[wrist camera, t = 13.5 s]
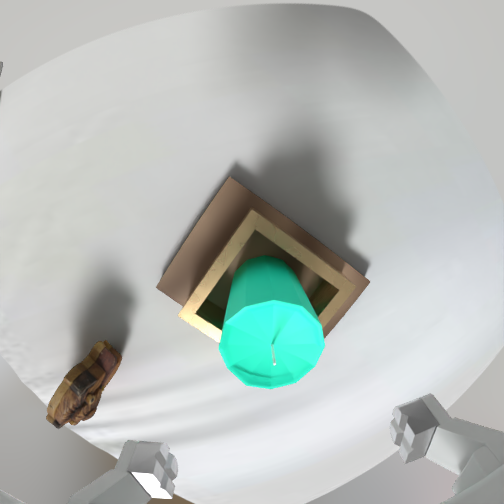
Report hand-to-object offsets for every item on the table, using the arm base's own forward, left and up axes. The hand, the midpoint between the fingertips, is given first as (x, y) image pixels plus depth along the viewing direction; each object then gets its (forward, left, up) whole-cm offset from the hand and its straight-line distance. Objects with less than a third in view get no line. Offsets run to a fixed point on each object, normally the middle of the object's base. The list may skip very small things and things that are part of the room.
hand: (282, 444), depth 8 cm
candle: (0, 0, -18) cm, 18 cm away
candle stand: (0, 0, -19) cm, 19 cm away
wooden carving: (-9, -21, -20) cm, 30 cm away
